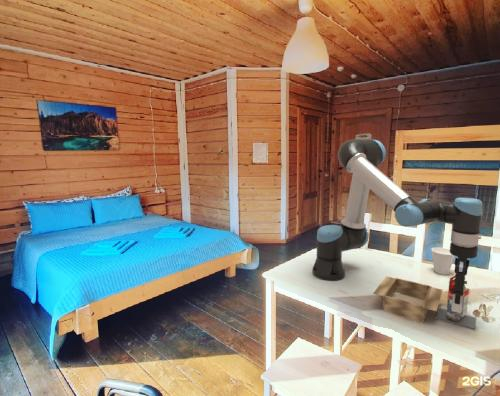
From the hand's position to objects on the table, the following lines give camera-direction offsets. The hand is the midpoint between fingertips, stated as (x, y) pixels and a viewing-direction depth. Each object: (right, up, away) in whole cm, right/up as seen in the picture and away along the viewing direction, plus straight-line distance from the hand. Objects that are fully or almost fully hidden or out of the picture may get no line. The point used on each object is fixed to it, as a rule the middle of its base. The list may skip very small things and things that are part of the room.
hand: (457, 305), depth 102 cm
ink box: (0, -4, +1) cm, 4 cm away
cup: (+20, +1, +39) cm, 44 cm away
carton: (-12, -4, +10) cm, 16 cm away
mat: (0, -5, +1) cm, 5 cm away
